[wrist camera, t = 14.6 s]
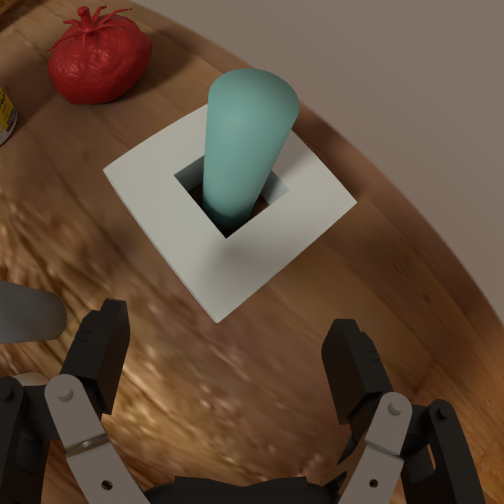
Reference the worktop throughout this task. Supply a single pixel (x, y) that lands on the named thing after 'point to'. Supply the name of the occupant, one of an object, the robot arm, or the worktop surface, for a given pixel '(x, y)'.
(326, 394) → the worktop surface
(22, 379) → the cream pin
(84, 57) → the pomegranate
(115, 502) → the robot arm
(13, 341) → the charcoal pin
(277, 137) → the teal pin
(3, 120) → the supplement bottle
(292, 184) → the socket block
